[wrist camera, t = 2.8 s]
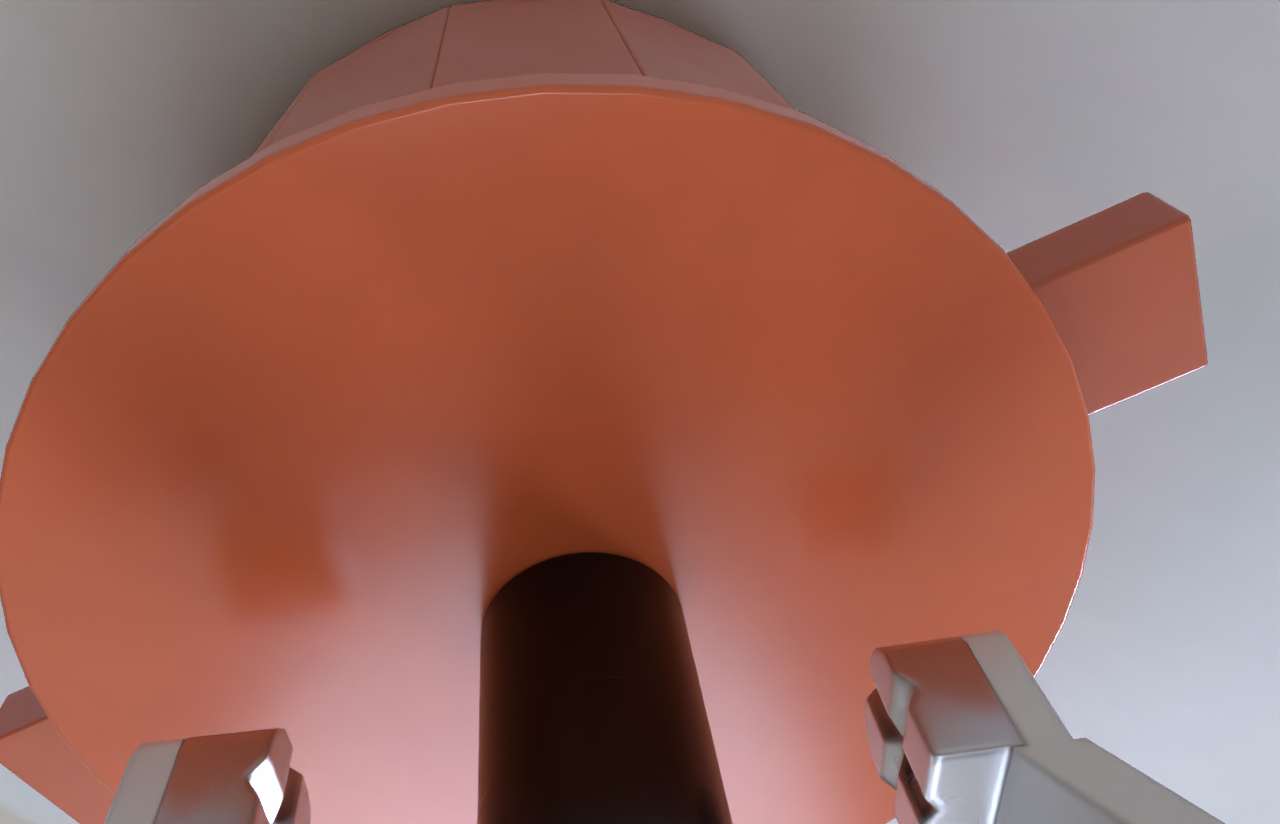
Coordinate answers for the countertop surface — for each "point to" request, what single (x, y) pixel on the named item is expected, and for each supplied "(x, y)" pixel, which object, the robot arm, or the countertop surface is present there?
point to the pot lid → (543, 461)
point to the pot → (650, 46)
